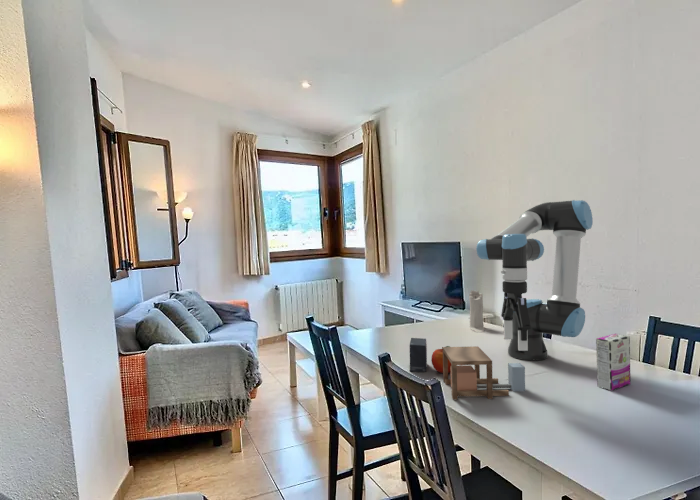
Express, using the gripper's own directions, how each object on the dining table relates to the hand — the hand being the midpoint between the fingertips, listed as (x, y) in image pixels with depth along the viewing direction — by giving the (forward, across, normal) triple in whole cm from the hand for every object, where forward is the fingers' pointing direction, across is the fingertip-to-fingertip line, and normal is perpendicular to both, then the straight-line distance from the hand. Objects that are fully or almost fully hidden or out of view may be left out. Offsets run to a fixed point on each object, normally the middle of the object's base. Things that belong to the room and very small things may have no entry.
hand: (515, 344), depth 136 cm
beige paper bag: (+14, -83, +9) cm, 85 cm away
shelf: (+15, 0, -13) cm, 20 cm away
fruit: (+15, -18, -20) cm, 31 cm away
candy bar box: (+15, -2, +33) cm, 36 cm away
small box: (+15, -23, -29) cm, 40 cm away
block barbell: (+15, 0, -9) cm, 17 cm away
